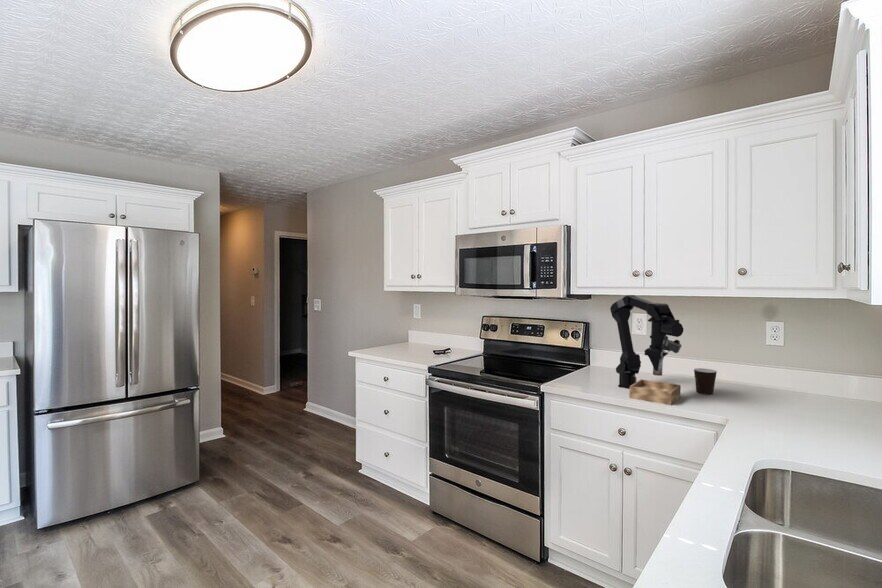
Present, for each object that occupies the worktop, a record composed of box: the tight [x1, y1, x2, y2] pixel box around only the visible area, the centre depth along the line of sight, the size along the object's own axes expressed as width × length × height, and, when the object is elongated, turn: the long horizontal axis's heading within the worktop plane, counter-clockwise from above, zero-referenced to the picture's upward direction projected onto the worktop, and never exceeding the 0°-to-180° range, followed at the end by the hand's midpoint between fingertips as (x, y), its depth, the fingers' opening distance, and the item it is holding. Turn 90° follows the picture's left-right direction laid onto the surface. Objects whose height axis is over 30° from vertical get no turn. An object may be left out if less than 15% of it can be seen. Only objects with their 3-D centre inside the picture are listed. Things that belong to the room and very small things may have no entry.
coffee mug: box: [693, 367, 718, 396], centre depth 198 cm, size 12×9×10 cm
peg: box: [652, 357, 664, 377], centre depth 189 cm, size 4×4×8 cm
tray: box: [628, 379, 682, 406], centre depth 190 cm, size 16×16×5 cm
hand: (657, 369), depth 190 cm, fingers closed on peg, 4 cm apart
